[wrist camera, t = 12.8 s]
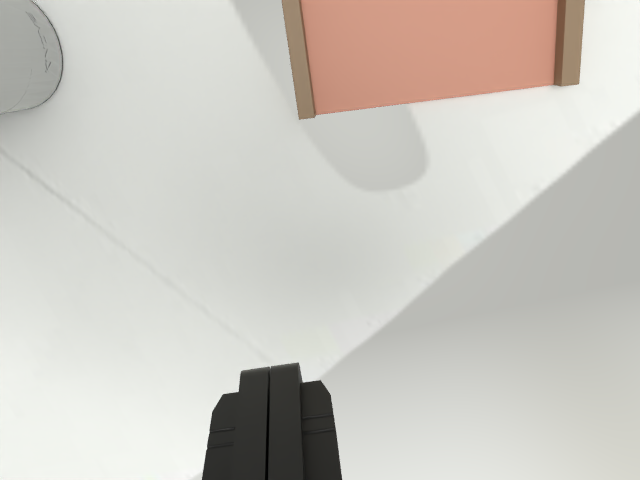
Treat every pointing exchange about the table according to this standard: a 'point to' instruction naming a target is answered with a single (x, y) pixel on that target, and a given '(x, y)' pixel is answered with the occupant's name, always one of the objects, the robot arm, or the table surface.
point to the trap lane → (427, 49)
